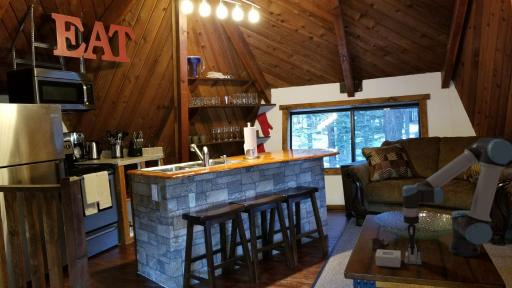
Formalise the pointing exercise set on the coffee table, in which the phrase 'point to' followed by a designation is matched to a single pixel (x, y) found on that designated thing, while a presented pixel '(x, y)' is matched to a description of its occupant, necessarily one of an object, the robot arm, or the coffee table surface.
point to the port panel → (388, 258)
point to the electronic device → (379, 244)
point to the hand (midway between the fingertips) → (412, 258)
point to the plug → (415, 254)
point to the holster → (410, 262)
